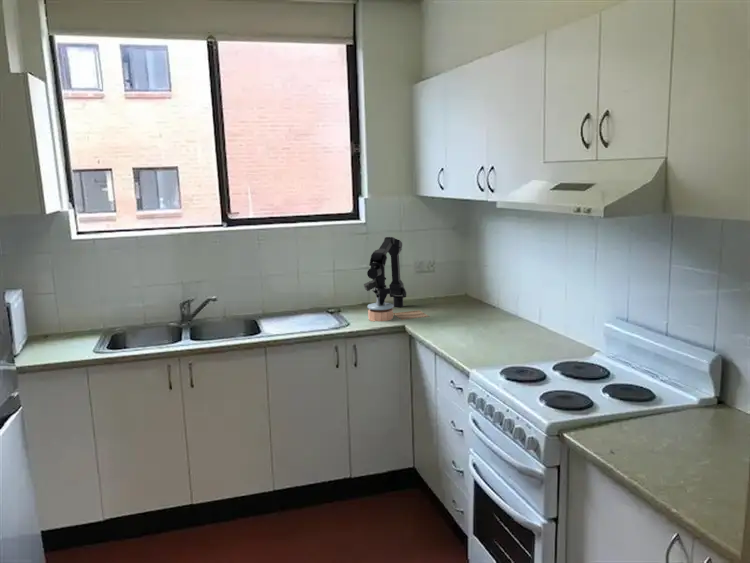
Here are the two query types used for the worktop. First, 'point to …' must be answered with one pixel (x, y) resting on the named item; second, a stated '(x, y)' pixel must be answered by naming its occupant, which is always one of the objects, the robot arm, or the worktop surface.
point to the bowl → (380, 315)
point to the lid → (380, 307)
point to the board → (410, 315)
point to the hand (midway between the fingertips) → (380, 304)
